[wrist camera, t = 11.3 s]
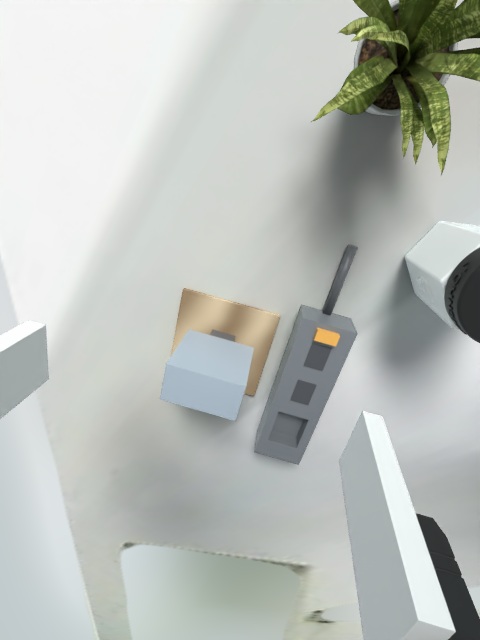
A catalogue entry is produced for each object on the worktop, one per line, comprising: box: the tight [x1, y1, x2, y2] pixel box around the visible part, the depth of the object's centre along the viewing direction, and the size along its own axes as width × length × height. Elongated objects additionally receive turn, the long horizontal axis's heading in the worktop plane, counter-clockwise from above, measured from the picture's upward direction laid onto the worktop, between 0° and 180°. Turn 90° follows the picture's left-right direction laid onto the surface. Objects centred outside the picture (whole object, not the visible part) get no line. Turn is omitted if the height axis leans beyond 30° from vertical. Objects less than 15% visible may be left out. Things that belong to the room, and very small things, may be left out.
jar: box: [405, 221, 480, 343], centre depth 30 cm, size 9×8×12 cm
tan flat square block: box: [171, 288, 280, 396], centre depth 42 cm, size 12×12×1 cm
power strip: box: [255, 245, 357, 465], centre depth 39 cm, size 28×6×5 cm, turn 166°
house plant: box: [311, 0, 480, 175], centre depth 23 cm, size 14×14×16 cm
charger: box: [160, 329, 254, 421], centre depth 37 cm, size 4×8×10 cm, turn 76°
